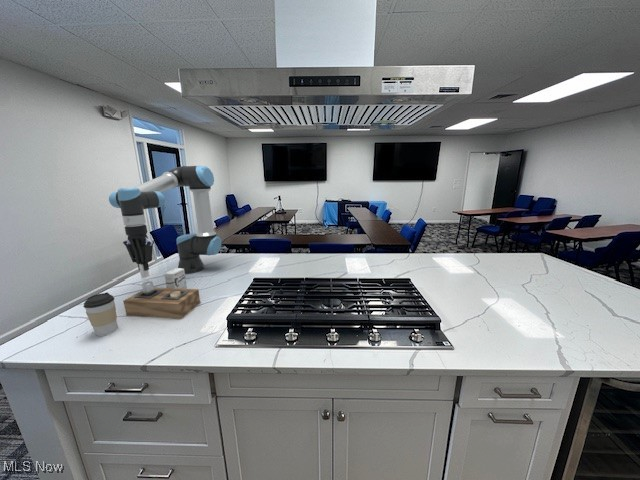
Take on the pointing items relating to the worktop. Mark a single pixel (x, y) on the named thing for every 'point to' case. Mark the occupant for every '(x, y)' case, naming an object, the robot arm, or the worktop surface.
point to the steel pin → (148, 288)
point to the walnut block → (162, 303)
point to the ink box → (176, 278)
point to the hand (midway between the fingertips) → (145, 277)
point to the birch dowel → (175, 294)
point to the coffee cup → (101, 313)
